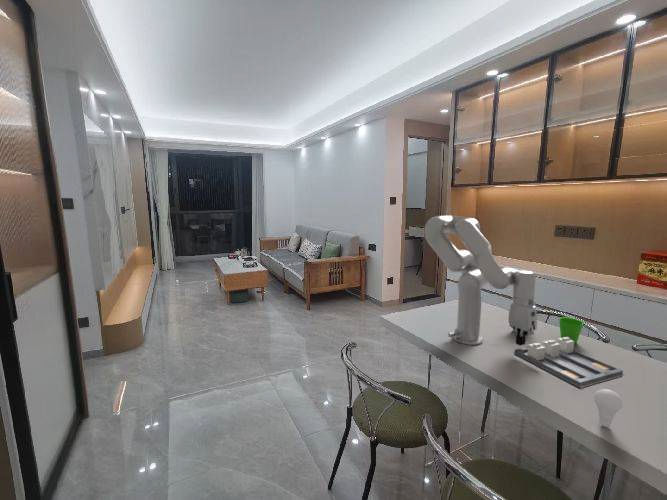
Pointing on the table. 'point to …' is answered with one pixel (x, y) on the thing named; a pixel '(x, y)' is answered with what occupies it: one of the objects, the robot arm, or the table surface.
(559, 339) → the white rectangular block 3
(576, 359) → the switch board
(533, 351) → the white stepped block
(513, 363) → the table surface
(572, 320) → the cup
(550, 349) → the white stepped block
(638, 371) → the table surface
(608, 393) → the lightbulb
